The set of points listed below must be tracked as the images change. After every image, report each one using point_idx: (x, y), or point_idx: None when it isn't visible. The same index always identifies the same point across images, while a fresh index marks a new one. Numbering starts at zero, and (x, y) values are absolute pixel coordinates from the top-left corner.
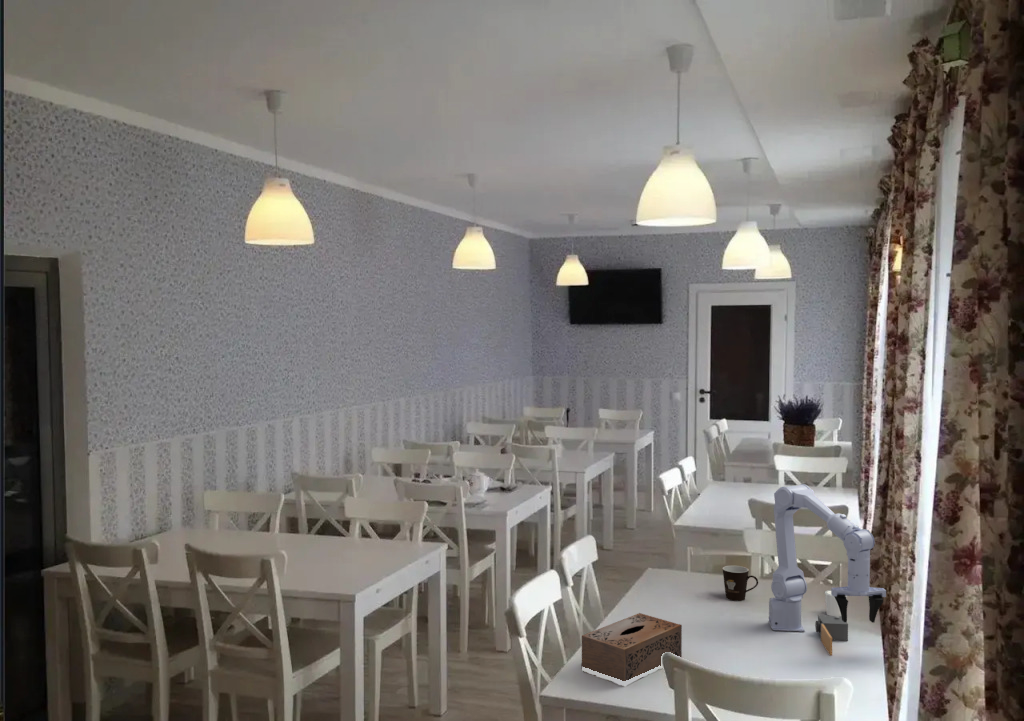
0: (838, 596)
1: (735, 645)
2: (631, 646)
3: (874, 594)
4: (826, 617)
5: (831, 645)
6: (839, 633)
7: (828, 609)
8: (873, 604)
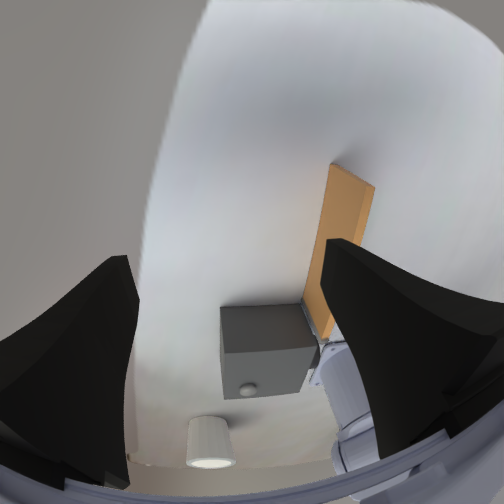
0: (500, 383)
1: (492, 235)
2: None
3: (48, 490)
4: (280, 386)
5: (352, 175)
6: (251, 324)
7: (226, 430)
8: (64, 374)
